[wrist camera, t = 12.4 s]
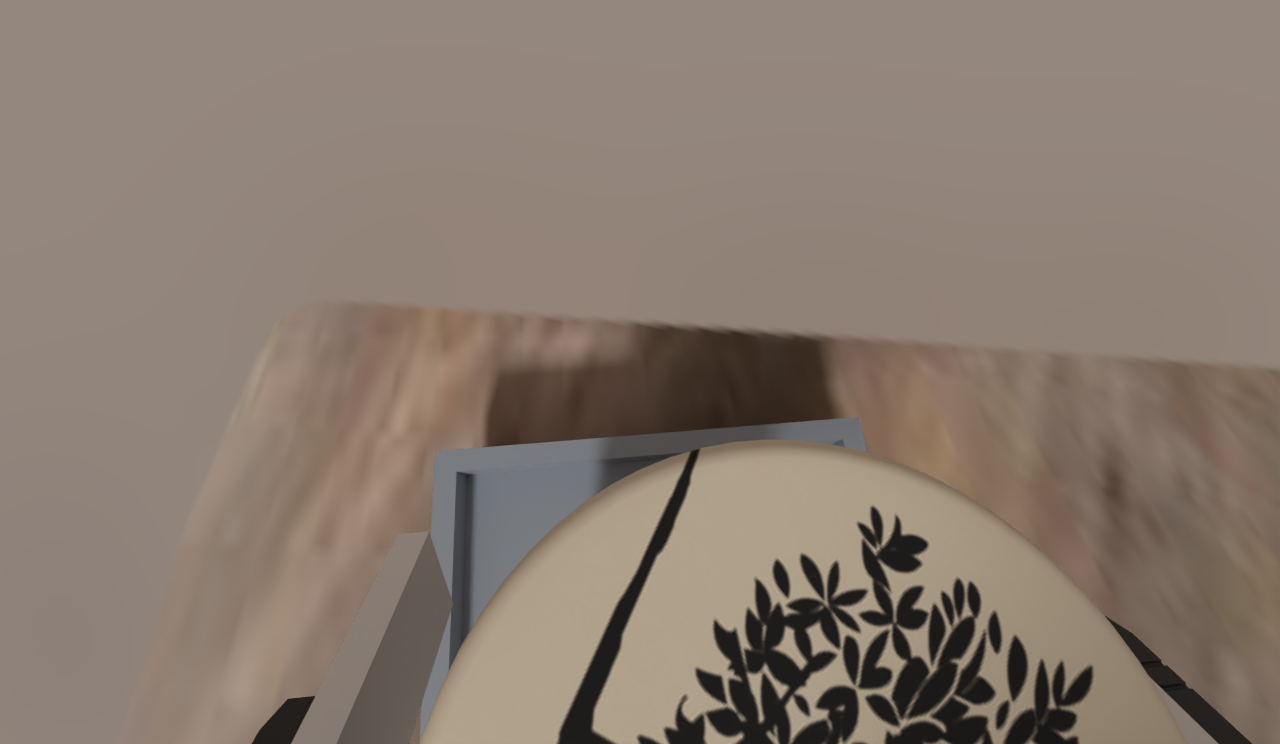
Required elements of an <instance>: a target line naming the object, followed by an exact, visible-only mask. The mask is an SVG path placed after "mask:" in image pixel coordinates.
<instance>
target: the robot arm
mask: <svg viewBox="0 0 1280 744" xmlns="http://www.w3.org/2000/svg"><path fill="white" fill-rule="evenodd" d="M949 486H951V487H953V486H952V485H949ZM953 488H954V487H953ZM452 606H453V602H452V599H451V596H450V593H449V590H448V587H447V584H446V581H445V578H444V575H443V572H442V569H441V566H440V563H439V560H438V557H437V554H436V551H435V548H434V545H433V542H432V539H431V536H430V533H429V531H428V532H417V533H406V534H398V536H397V538H396V540H395V542H394V544H393V546H392V548H391V550H390V552H389V554H388V555H387V557H386V559H385V561H384V563H383V565H382V567H381V569H380V571H379V573H378V575H377V577H376V579H375V581H374V583H373V585H372V587H371V589H370V591H369V593H368V595H367V597H366V598H365V600H364V602H363V604H362V606H361V608H360V610H359V612H358V614H357V616H356V618H355V620H354V622H353V624H352V626H351V628H350V630H349V632H348V634H347V636H346V638H345V640H344V641H343V643H342V645H341V647H340V649H339V651H338V653H337V655H336V657H335V659H334V661H333V663H332V665H331V667H330V669H329V671H328V673H327V675H326V677H325V679H324V681H323V682H322V684H321V686H320V688H319V690H318V692H317V694H316V696H311V697H302V698H292V699H287V701H286V702H285V703H284V704H283V705H282V706H281V707H280V708H279V709H278V710H277V712H276V713H275V714H274V715H273V716H272V717H271V718H270V719H269V720H268V721H267V723H266V724H265V725H264V726H263V727H262V728H261V729H260V730H259V732H258V734H257V736H256V737H255V739H254V741H253V743H252V744H409V742H410V739H411V735H412V732H413V729H414V726H415V723H416V720H417V716H418V713H419V710H420V707H421V704H422V701H423V697H424V694H425V691H426V688H427V685H428V682H429V678H430V675H431V672H432V669H433V666H434V663H435V659H436V656H437V653H438V650H439V647H440V644H441V640H442V637H443V634H444V631H445V628H446V625H447V621H448V618H449V615H450V612H451V609H452ZM1105 617H1106V616H1105ZM1106 618H1107V617H1106ZM1107 619H1108V620H1109V622H1110V623H1111V624H1112V625H1113V627H1114V628H1115V629H1116V631H1117V632H1118V633H1119V635H1120V636H1121V637H1122V639H1123V640H1124V642H1125V643H1126V644H1127V646H1128V647H1129V648H1130V650H1131V651H1132V652H1133V654H1134V655H1135V656H1136V658H1137V659H1138V660H1139V662H1140V663H1141V665H1142V666H1143V668H1144V670H1145V671H1146V673H1147V674H1148V676H1149V677H1150V679H1151V680H1152V682H1153V684H1154V685H1155V687H1156V688H1157V690H1158V691H1159V693H1160V694H1161V696H1162V698H1163V699H1164V701H1165V703H1166V704H1167V706H1168V708H1169V710H1170V712H1171V713H1172V715H1173V717H1174V719H1175V721H1176V722H1177V724H1178V726H1179V728H1180V730H1181V732H1182V733H1183V735H1184V737H1185V739H1186V741H1187V742H1188V744H1252V743H1251V742H1250V741H1248V740H1247V739H1246V738H1245V737H1244V736H1243V735H1242V734H1241V733H1240V732H1239V731H1238V730H1237V729H1235V728H1234V727H1233V726H1232V725H1231V724H1230V723H1229V722H1228V721H1227V720H1226V719H1225V718H1224V717H1222V716H1221V715H1220V714H1219V713H1218V712H1217V711H1216V710H1215V709H1214V708H1213V707H1212V706H1210V705H1209V704H1208V703H1207V702H1206V701H1205V700H1204V699H1203V698H1202V697H1201V696H1200V695H1199V694H1197V693H1196V692H1195V691H1194V690H1193V689H1189V688H1188V687H1187V686H1186V683H1185V682H1184V681H1183V680H1182V679H1181V678H1180V677H1179V676H1178V675H1177V674H1176V673H1175V672H1174V671H1172V670H1171V669H1170V668H1169V667H1168V666H1164V665H1163V664H1162V663H1161V660H1160V659H1159V658H1158V657H1157V656H1156V655H1155V654H1154V653H1153V652H1152V651H1151V650H1150V649H1149V648H1147V647H1146V646H1145V645H1144V644H1143V643H1142V642H1141V641H1140V640H1139V639H1138V638H1137V637H1136V636H1134V635H1133V634H1132V633H1131V632H1129V631H1128V630H1126V629H1125V628H1123V627H1121V626H1120V625H1118V624H1117V623H1115V622H1114V621H1112V620H1111V619H1109V618H1107Z"/></svg>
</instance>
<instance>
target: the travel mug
mask: <svg viewBox="0 0 1280 744" xmlns="http://www.w3.org/2000/svg"><path fill="white" fill-rule="evenodd" d="M420 744H1188V742H1187V741H1186V739H1185V737H1184V735H1183V733H1182V732H1181V730H1180V728H1179V726H1178V724H1177V722H1176V721H1175V719H1174V717H1173V715H1172V713H1171V712H1170V710H1169V708H1168V706H1167V704H1166V703H1165V701H1164V699H1163V698H1162V696H1161V694H1160V693H1159V691H1158V690H1157V688H1156V687H1155V685H1154V684H1153V682H1152V680H1151V679H1150V677H1149V676H1148V674H1147V673H1146V671H1145V670H1144V668H1143V666H1142V665H1141V663H1140V662H1139V660H1138V659H1137V658H1136V656H1135V655H1134V654H1133V652H1132V651H1131V650H1130V648H1129V647H1128V646H1127V644H1126V643H1125V642H1124V640H1123V639H1122V637H1121V636H1120V635H1119V633H1118V632H1117V631H1116V629H1115V628H1114V627H1113V625H1112V624H1111V623H1110V622H1109V620H1108V619H1107V618H1106V617H1105V616H1104V615H1103V614H1102V612H1101V611H1100V610H1099V609H1098V608H1097V607H1096V605H1095V604H1094V603H1093V602H1092V601H1091V600H1090V598H1089V597H1088V596H1087V595H1086V594H1085V593H1084V591H1083V590H1082V589H1081V588H1080V587H1079V586H1078V585H1077V584H1076V583H1075V582H1074V581H1073V580H1072V579H1071V578H1070V577H1069V576H1068V575H1067V574H1066V573H1065V572H1064V571H1063V570H1062V569H1061V568H1060V567H1059V566H1058V565H1057V564H1056V563H1055V562H1054V561H1053V560H1052V559H1051V558H1050V557H1048V556H1047V555H1046V554H1045V553H1044V552H1043V551H1041V550H1040V549H1039V548H1038V547H1037V546H1036V545H1034V544H1033V543H1032V542H1031V541H1030V540H1029V539H1028V538H1026V537H1025V536H1024V535H1023V534H1022V533H1020V532H1019V531H1018V530H1016V529H1015V528H1014V527H1012V526H1011V525H1010V524H1008V523H1007V522H1006V521H1004V520H1003V519H1001V518H1000V517H999V516H997V515H996V514H995V513H993V512H992V511H991V510H989V509H988V508H986V507H984V506H983V505H981V504H979V503H978V502H976V501H975V500H973V499H971V498H970V497H968V496H967V495H965V494H963V493H962V492H960V491H959V490H957V489H955V488H953V487H951V486H949V485H947V484H945V483H943V482H941V481H939V480H937V479H935V478H933V477H931V476H929V475H927V474H925V473H923V472H920V471H918V470H916V469H913V468H911V467H908V466H906V465H903V464H901V463H898V462H896V461H893V460H890V459H887V458H884V457H881V456H877V455H874V454H871V453H868V452H864V451H861V450H856V449H852V448H847V447H842V446H837V445H832V444H827V443H818V442H809V441H800V440H753V441H741V442H731V443H726V444H720V445H715V446H710V447H704V448H700V449H696V450H693V451H690V452H686V453H683V454H679V455H676V456H673V457H670V458H667V459H665V460H662V461H660V462H657V463H655V464H652V465H650V466H647V467H645V468H642V469H640V470H638V471H636V472H634V473H632V474H631V475H629V476H627V477H625V478H623V479H621V480H619V481H617V482H615V483H613V484H612V485H610V486H609V487H607V488H605V489H604V490H602V491H601V492H599V493H598V494H596V495H595V496H593V497H592V498H590V499H589V500H587V501H586V502H584V503H583V504H582V505H580V506H579V507H578V508H577V509H575V510H574V511H573V512H572V513H570V514H569V515H568V516H567V517H565V518H564V519H563V520H562V521H560V522H559V523H558V524H557V525H555V526H554V527H553V528H552V529H551V530H550V531H549V532H548V533H547V534H546V535H545V536H544V537H543V538H542V539H541V540H540V541H539V542H538V543H537V544H536V545H535V546H534V547H533V548H532V549H531V550H530V551H529V552H528V553H527V554H526V555H525V557H524V558H523V559H522V560H521V561H520V562H519V564H518V565H517V566H516V567H515V568H514V569H513V571H512V572H511V573H510V574H509V575H508V576H507V578H506V579H505V580H504V581H503V583H502V584H501V585H500V587H499V588H498V590H497V591H496V592H495V594H494V595H493V597H492V598H491V599H490V601H489V602H488V604H487V605H486V606H485V608H484V609H483V611H482V612H481V614H480V615H479V617H478V619H477V620H476V622H475V624H474V625H473V627H472V629H471V630H470V632H469V634H468V635H467V637H466V639H465V640H464V642H463V644H462V646H461V647H460V649H459V651H458V653H457V655H456V657H455V659H454V661H453V663H452V665H451V667H450V669H449V671H448V674H447V676H446V678H445V680H444V682H443V684H442V686H441V688H440V690H439V693H438V695H437V698H436V700H435V703H434V706H433V708H432V711H431V713H430V716H429V718H428V721H427V723H426V726H425V729H424V731H423V734H422V737H421V740H420Z"/></svg>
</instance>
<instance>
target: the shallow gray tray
mask: <svg viewBox="0 0 1280 744" xmlns="http://www.w3.org/2000/svg"><path fill="white" fill-rule="evenodd" d="M753 440H800V441H809V442H818V443H827V444H832V445H837V446H842V447H847V448H852V449H856V450H861V451H864V452H867V450H866V446H865V442H864V438H863V433H862V429H861V425H860V421H859V417H853V418H840V419H828V420H815V421H803V422H791V423H778V424H766V425H753V426H741V427H729V428H716V429H704V430H692V431H679V432H667V433H654V434H642V435H630V436H617V437H605V438H593V439H580V440H568V441H555V442H543V443H531V444H518V445H506V446H494V447H481V448H469V449H456V450H444V451H435V463H434V482H433V500H432V519H431V539H432V542H433V545H434V548H435V551H436V554H437V557H438V560H439V563H440V566H441V569H442V572H443V575H444V578H445V581H446V584H447V587H448V590H449V593H450V596H451V599H452V602H453V606H452V609H451V612H450V615H449V618H448V621H447V625H446V628H445V631H444V634H443V637H442V640H441V644H440V647H439V650H438V653H437V656H436V659H435V663H434V666H433V669H432V672H431V675H430V678H429V682H428V685H427V688H426V691H425V694H424V697H423V701H422V706H421V724H420V740H421V737H422V734H423V731H424V729H425V726H426V723H427V721H428V718H429V716H430V713H431V711H432V708H433V706H434V703H435V700H436V698H437V695H438V693H439V690H440V688H441V686H442V684H443V682H444V680H445V678H446V676H447V674H448V671H449V669H450V667H451V665H452V663H453V661H454V659H455V657H456V655H457V653H458V651H459V649H460V647H461V646H462V644H463V642H464V640H465V639H466V637H467V635H468V634H469V632H470V630H471V629H472V627H473V625H474V624H475V622H476V620H477V619H478V617H479V615H480V614H481V612H482V611H483V609H484V608H485V606H486V605H487V604H488V602H489V601H490V599H491V598H492V597H493V595H494V594H495V592H496V591H497V590H498V588H499V587H500V585H501V584H502V583H503V581H504V580H505V579H506V578H507V576H508V575H509V574H510V573H511V572H512V571H513V569H514V568H515V567H516V566H517V565H518V564H519V562H520V561H521V560H522V559H523V558H524V557H525V555H526V554H527V553H528V552H529V551H530V550H531V549H532V548H533V547H534V546H535V545H536V544H537V543H538V542H539V541H540V540H541V539H542V538H543V537H544V536H545V535H546V534H547V533H548V532H549V531H550V530H551V529H552V528H553V527H554V526H555V525H557V524H558V523H559V522H560V521H562V520H563V519H564V518H565V517H567V516H568V515H569V514H570V513H572V512H573V511H574V510H575V509H577V508H578V507H579V506H580V505H582V504H583V503H584V502H586V501H587V500H589V499H590V498H592V497H593V496H595V495H596V494H598V493H599V492H601V491H602V490H604V489H605V488H607V487H609V486H610V485H612V484H613V483H615V482H617V481H619V480H621V479H623V478H625V477H627V476H629V475H631V474H632V473H634V472H636V471H638V470H640V469H642V468H645V467H647V466H650V465H652V464H655V463H657V462H660V461H662V460H665V459H667V458H670V457H673V456H676V455H679V454H683V453H686V452H690V451H693V450H696V449H700V448H704V447H710V446H715V445H720V444H726V443H731V442H741V441H753ZM419 744H420V743H419Z"/></svg>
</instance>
